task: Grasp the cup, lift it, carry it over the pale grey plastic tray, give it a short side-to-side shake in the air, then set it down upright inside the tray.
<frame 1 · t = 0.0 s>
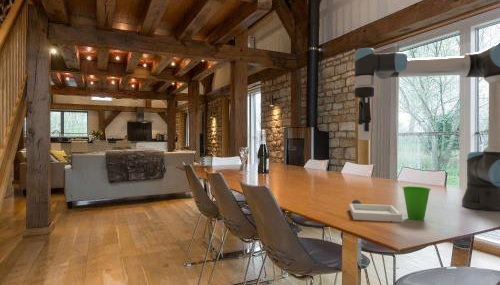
hand: (363, 139, 133), 28 cm above the table, fingers open, 13 cm apart
ball: (356, 208, 133), on the table
cup: (415, 219, 116), on the table
tray: (373, 215, 121), on the table
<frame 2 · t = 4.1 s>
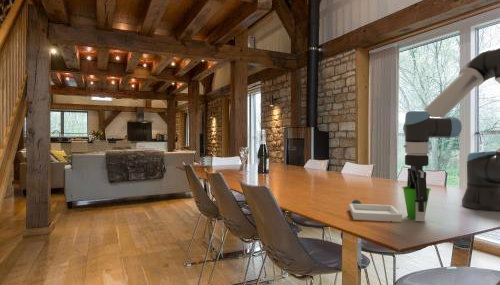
hand: (416, 217, 116), 0 cm above the table, fingers closed on cup, 9 cm apart
cup: (416, 219, 116), on the table, touching gripper
everything else where it was.
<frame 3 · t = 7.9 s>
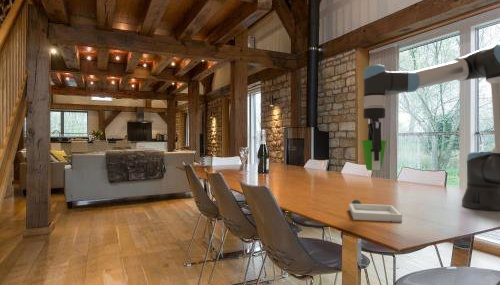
hand: (373, 168, 121), 17 cm above the table, fingers closed on cup, 9 cm apart
cup: (373, 170, 121), point 17 cm above the table, touching gripper
everything else where it was.
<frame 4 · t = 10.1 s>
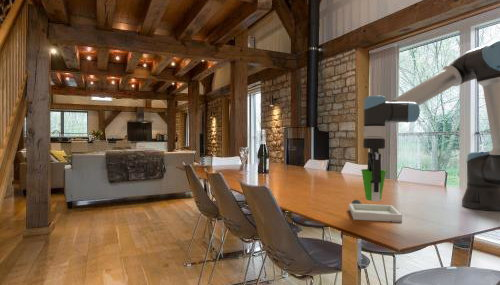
hand: (373, 198, 121), 6 cm above the table, fingers closed on cup, 9 cm apart
cup: (373, 200, 121), point 6 cm above the table, touching gripper
everything else where it was.
when the fingers open (3 cm above the table, at t = 11.7 s): cup drops 2 cm, resting on tray.
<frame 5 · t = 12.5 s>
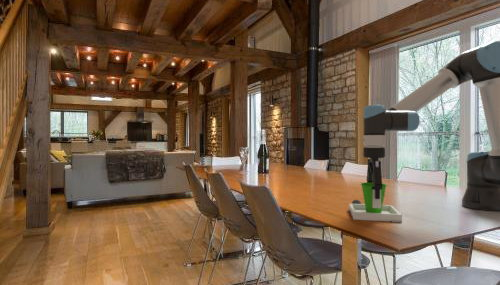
hand: (373, 204, 121), 4 cm above the table, fingers open, 13 cm apart
cup: (373, 214, 121), resting on tray
everything else where it was.
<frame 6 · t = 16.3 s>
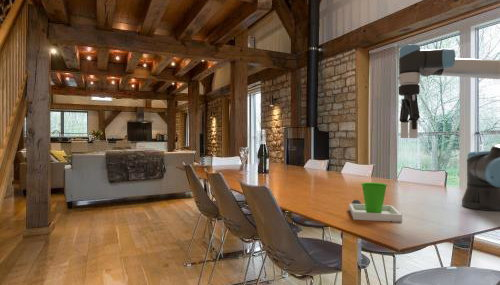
hand: (408, 138, 130), 29 cm above the table, fingers open, 13 cm apart
nothing on the table moved.
at the end: cup inside the target area on the tray (0.0 cm from its centre), point 0.4 cm above the tray's base; cup tilted 0°; the gripper is holding nothing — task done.
